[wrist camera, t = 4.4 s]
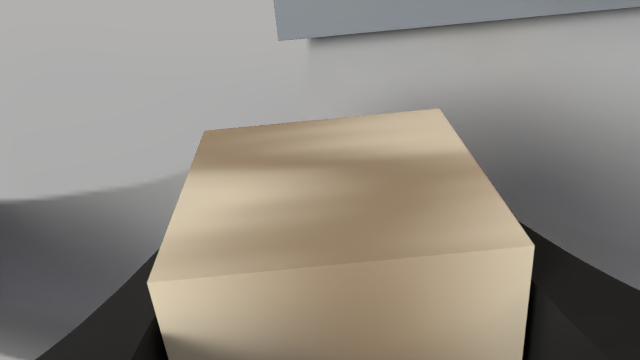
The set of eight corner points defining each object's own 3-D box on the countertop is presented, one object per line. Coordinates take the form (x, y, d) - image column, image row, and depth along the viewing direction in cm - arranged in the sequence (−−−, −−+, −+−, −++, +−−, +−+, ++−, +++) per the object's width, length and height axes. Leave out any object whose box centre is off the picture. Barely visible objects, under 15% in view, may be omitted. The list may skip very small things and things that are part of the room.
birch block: (239, 313, 13) (213, 519, 9) (204, 130, 11) (147, 283, 7) (436, 295, 13) (507, 491, 9) (438, 108, 11) (534, 245, 7)
